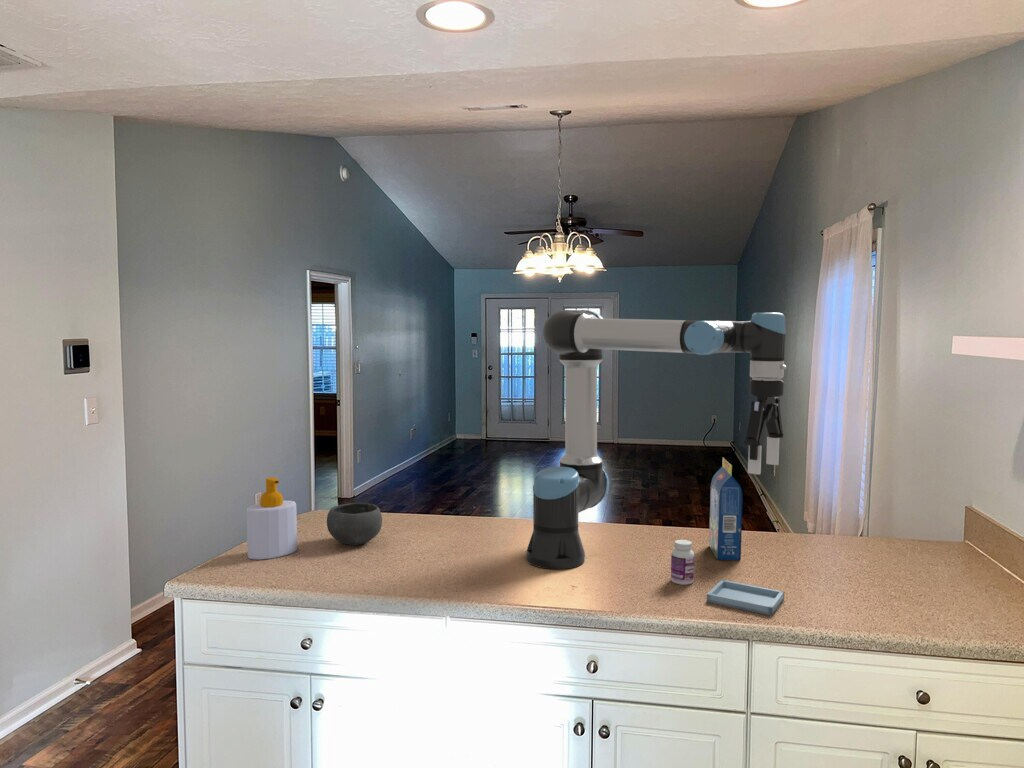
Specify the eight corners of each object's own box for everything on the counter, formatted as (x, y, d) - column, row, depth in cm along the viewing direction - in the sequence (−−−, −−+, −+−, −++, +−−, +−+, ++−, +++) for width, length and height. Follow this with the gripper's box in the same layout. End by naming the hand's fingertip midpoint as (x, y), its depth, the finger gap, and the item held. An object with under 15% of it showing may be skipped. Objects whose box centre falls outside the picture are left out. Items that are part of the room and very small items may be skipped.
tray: (706, 601, 162) (706, 594, 162) (721, 586, 171) (721, 579, 171) (771, 615, 155) (772, 607, 154) (783, 599, 164) (784, 591, 164)
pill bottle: (689, 587, 171) (690, 546, 170) (667, 582, 174) (668, 543, 173) (696, 580, 176) (697, 540, 175) (675, 576, 179) (676, 537, 178)
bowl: (356, 532, 215) (355, 498, 214) (392, 541, 206) (392, 506, 205) (315, 544, 203) (315, 509, 202) (352, 554, 194) (352, 517, 193)
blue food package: (731, 546, 202) (734, 457, 200) (741, 560, 190) (744, 465, 188) (708, 546, 203) (710, 456, 201) (716, 560, 191) (719, 465, 189)
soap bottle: (254, 563, 187) (252, 484, 185) (242, 555, 193) (240, 479, 191) (303, 552, 195) (301, 477, 194) (289, 545, 202) (288, 472, 200)
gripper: (766, 383, 158) (762, 480, 160) (798, 376, 179) (794, 462, 180) (732, 381, 163) (729, 475, 165) (767, 375, 183) (764, 459, 185)
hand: (763, 469), depth 172 cm, fingers open, 13 cm apart
